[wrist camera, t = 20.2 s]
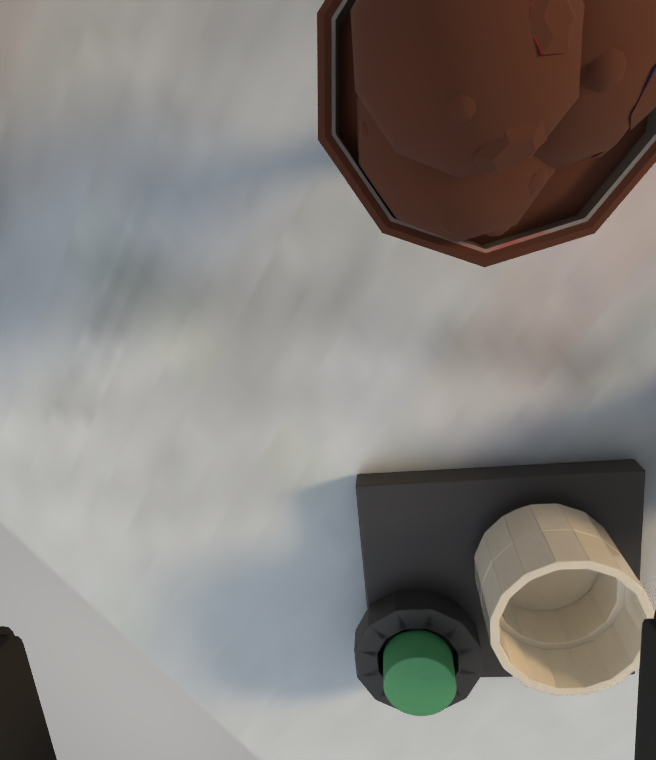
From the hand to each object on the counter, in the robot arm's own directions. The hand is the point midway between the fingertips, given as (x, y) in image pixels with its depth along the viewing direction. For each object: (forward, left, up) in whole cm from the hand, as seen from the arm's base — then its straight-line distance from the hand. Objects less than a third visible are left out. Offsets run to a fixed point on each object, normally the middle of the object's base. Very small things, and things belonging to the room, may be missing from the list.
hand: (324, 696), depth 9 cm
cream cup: (+8, -12, -21) cm, 25 cm away
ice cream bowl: (+5, +10, -22) cm, 25 cm away
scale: (+6, -13, -22) cm, 27 cm away
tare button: (+1, -16, -20) cm, 26 cm away
